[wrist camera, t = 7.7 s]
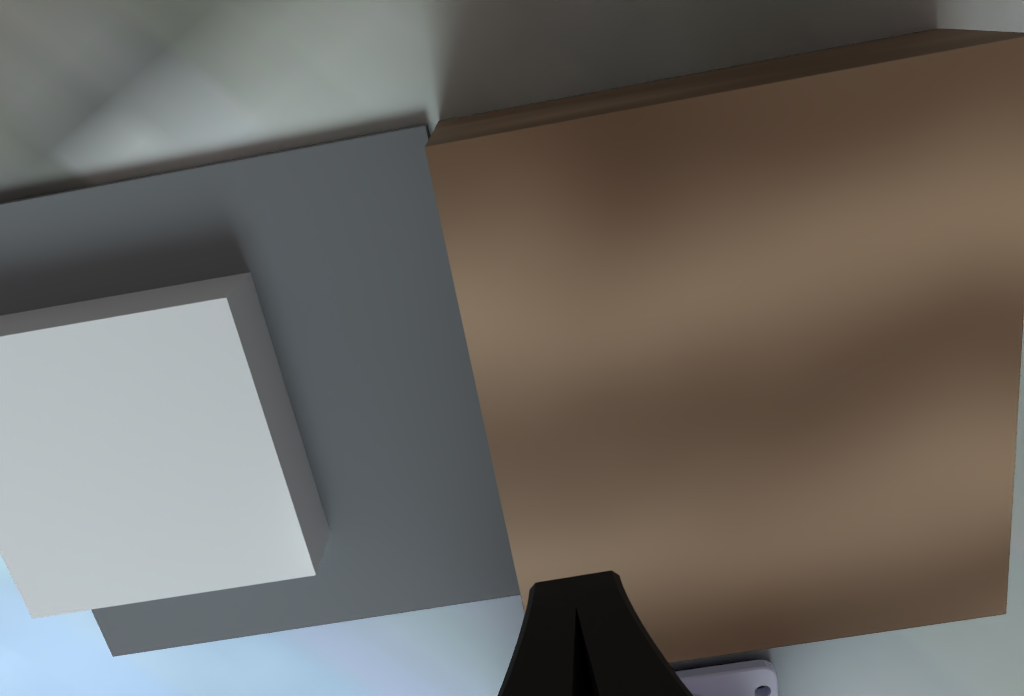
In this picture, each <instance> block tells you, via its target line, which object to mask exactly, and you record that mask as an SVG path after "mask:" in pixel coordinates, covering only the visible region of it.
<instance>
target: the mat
mask: <svg viewBox="0 0 1024 696" xmlns="http://www.w3.org/2000/svg"><path fill="white" fill-rule="evenodd" d="M429 138H430V137H429V132H428V127H427V124H422V125H417V126H411V127H406V128H401V129H395V130H390V131H384V132H379V133H374V134H368V135H363V136H357V137H352V138H347V139H341V140H336V141H331V142H325V143H320V144H314V145H309V146H304V147H298V148H293V149H288V150H282V151H277V152H271V153H266V154H261V155H255V156H250V157H245V158H239V159H234V160H228V161H223V162H218V163H212V164H207V165H201V166H196V167H191V168H185V169H180V170H175V171H169V172H164V173H158V174H153V175H148V176H142V177H137V178H132V179H126V180H121V181H115V182H110V183H105V184H99V185H94V186H88V187H83V188H78V189H72V190H67V191H62V192H56V193H51V194H45V195H40V196H35V197H29V198H24V199H19V200H13V201H8V202H2V203H0V316H2V315H7V314H13V313H19V312H25V311H30V310H36V309H42V308H48V307H53V306H59V305H65V304H71V303H76V302H82V301H88V300H94V299H99V298H105V297H111V296H116V295H122V294H128V293H134V292H139V291H145V290H151V289H157V288H162V287H168V286H174V285H180V284H185V283H191V282H197V281H203V280H208V279H214V278H220V277H226V276H231V275H237V274H243V273H249V272H251V276H252V279H253V282H254V285H255V289H256V292H257V295H258V299H259V302H260V305H261V308H262V312H263V315H264V318H265V321H266V325H267V328H268V331H269V334H270V338H271V341H272V344H273V347H274V351H275V354H276V357H277V360H278V364H279V367H280V370H281V373H282V377H283V380H284V383H285V387H286V390H287V393H288V396H289V400H290V403H291V406H292V409H293V413H294V416H295V419H296V422H297V426H298V429H299V432H300V435H301V439H302V442H303V445H304V448H305V452H306V455H307V458H308V461H309V465H310V468H311V471H312V475H313V478H314V481H315V484H316V488H317V491H318V494H319V497H320V501H321V504H322V507H323V510H324V514H325V517H326V520H327V523H328V527H329V530H330V534H329V537H328V540H327V543H326V546H325V549H324V552H323V555H322V558H321V561H320V564H319V567H318V570H317V573H316V575H314V576H308V577H301V578H295V579H288V580H281V581H275V582H268V583H262V584H255V585H249V586H242V587H236V588H229V589H222V590H216V591H209V592H203V593H196V594H190V595H183V596H177V597H170V598H163V599H157V600H150V601H144V602H137V603H131V604H124V605H118V606H111V607H104V608H98V609H91V610H92V612H93V614H94V617H95V619H96V621H97V623H98V625H99V627H100V630H101V632H102V634H103V636H104V638H105V641H106V643H107V645H108V647H109V649H110V651H111V654H112V656H113V657H114V656H120V655H127V654H133V653H140V652H146V651H153V650H160V649H166V648H173V647H179V646H186V645H193V644H199V643H206V642H212V641H219V640H225V639H232V638H239V637H245V636H252V635H258V634H265V633H272V632H278V631H285V630H291V629H298V628H304V627H311V626H318V625H324V624H331V623H337V622H344V621H351V620H357V619H364V618H370V617H377V616H383V615H390V614H397V613H403V612H410V611H416V610H423V609H430V608H436V607H443V606H449V605H456V604H462V603H469V602H476V601H482V600H489V599H495V598H502V597H509V596H515V595H521V593H520V589H519V584H518V579H517V575H516V570H515V566H514V561H513V556H512V552H511V547H510V542H509V538H508V533H507V528H506V524H505V519H504V514H503V510H502V505H501V500H500V496H499V491H498V486H497V482H496V477H495V472H494V468H493V463H492V459H491V454H490V449H489V445H488V440H487V435H486V431H485V426H484V421H483V417H482V412H481V407H480V403H479V398H478V393H477V389H476V384H475V379H474V375H473V370H472V365H471V361H470V356H469V351H468V347H467V342H466V338H465V333H464V328H463V324H462V319H461V314H460V310H459V305H458V300H457V296H456V291H455V286H454V282H453V277H452V272H451V268H450V263H449V258H448V254H447V249H446V244H445V240H444V235H443V230H442V226H441V221H440V217H439V212H438V207H437V203H436V198H435V193H434V189H433V184H432V179H431V175H430V170H429V165H428V161H427V156H426V151H425V145H426V144H427V142H428V140H429Z"/></svg>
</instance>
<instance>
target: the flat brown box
mask: <svg viewBox="0 0 1024 696" xmlns="http://www.w3.org/2000/svg"><path fill="white" fill-rule="evenodd" d="M425 151H426V156H427V161H428V165H429V170H430V175H431V179H432V184H433V189H434V193H435V198H436V203H437V207H438V212H439V217H440V221H441V226H442V230H443V235H444V240H445V244H446V249H447V254H448V258H449V263H450V268H451V272H452V277H453V282H454V286H455V291H456V296H457V300H458V305H459V310H460V314H461V319H462V324H463V328H464V333H465V338H466V342H467V347H468V351H469V356H470V361H471V365H472V370H473V375H474V379H475V384H476V389H477V393H478V398H479V403H480V407H481V412H482V417H483V421H484V426H485V431H486V435H487V440H488V445H489V449H490V454H491V459H492V463H493V468H494V472H495V477H496V482H497V486H498V491H499V496H500V500H501V505H502V510H503V514H504V519H505V524H506V528H507V533H508V538H509V542H510V547H511V552H512V556H513V561H514V566H515V570H516V575H517V579H518V584H519V589H520V593H521V598H522V603H523V607H524V612H526V607H527V603H528V597H529V590H530V588H531V587H532V586H533V585H534V584H535V583H536V582H542V581H548V580H554V579H561V578H567V577H573V576H579V575H585V574H592V573H598V572H604V571H610V570H612V571H614V572H615V573H617V574H618V575H620V579H621V582H622V584H623V587H624V589H625V592H626V594H627V596H628V598H629V600H630V602H631V604H632V606H633V608H634V610H635V612H636V613H637V615H638V617H639V618H640V620H641V622H642V624H643V625H644V627H645V629H646V630H647V632H648V633H649V635H650V637H651V638H652V640H653V641H654V643H655V644H656V646H657V647H658V648H659V650H660V651H661V653H662V654H663V656H664V657H665V659H666V660H667V662H668V663H673V662H680V661H687V660H693V659H700V658H707V657H714V656H721V655H728V654H735V653H741V652H748V651H755V650H762V649H769V648H776V647H783V646H790V645H796V644H803V643H810V642H817V641H824V640H831V639H838V638H844V637H851V636H858V635H865V634H872V633H879V632H886V631H893V630H899V629H906V628H913V627H920V626H927V625H934V624H941V623H947V622H954V621H961V620H968V619H975V618H982V617H989V616H996V615H1002V614H1006V606H1007V589H1008V572H1009V555H1010V538H1011V521H1012V504H1013V487H1014V469H1015V452H1016V435H1017V418H1018V401H1019V384H1020V367H1021V350H1022V333H1023V315H1024V33H1017V32H998V31H978V30H958V29H933V30H928V31H922V32H917V33H912V34H906V35H901V36H895V37H890V38H885V39H879V40H874V41H869V42H863V43H858V44H852V45H847V46H842V47H836V48H831V49H826V50H820V51H815V52H809V53H804V54H799V55H793V56H788V57H783V58H777V59H772V60H766V61H761V62H756V63H750V64H745V65H739V66H734V67H729V68H723V69H718V70H713V71H707V72H702V73H696V74H691V75H686V76H680V77H675V78H670V79H664V80H659V81H653V82H648V83H643V84H637V85H632V86H626V87H621V88H616V89H610V90H605V91H600V92H594V93H589V94H583V95H578V96H573V97H567V98H562V99H557V100H551V101H546V102H540V103H535V104H530V105H524V106H519V107H514V108H508V109H503V110H497V111H492V112H487V113H481V114H476V115H470V116H465V117H460V118H454V119H449V120H444V121H439V122H438V124H437V126H436V127H435V129H434V131H433V133H432V135H431V136H430V138H429V140H428V142H427V144H426V145H425Z"/></svg>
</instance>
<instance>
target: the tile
mask: <svg viewBox="0 0 1024 696" xmlns="http://www.w3.org/2000/svg"><path fill="white" fill-rule="evenodd" d="M329 534H330V530H329V527H328V523H327V520H326V517H325V514H324V510H323V507H322V504H321V501H320V497H319V494H318V491H317V488H316V484H315V481H314V478H313V475H312V471H311V468H310V465H309V461H308V458H307V455H306V452H305V448H304V445H303V442H302V439H301V435H300V432H299V429H298V426H297V422H296V419H295V416H294V413H293V409H292V406H291V403H290V400H289V396H288V393H287V390H286V387H285V383H284V380H283V377H282V373H281V370H280V367H279V364H278V360H277V357H276V354H275V351H274V347H273V344H272V341H271V338H270V334H269V331H268V328H267V325H266V321H265V318H264V315H263V312H262V308H261V305H260V302H259V299H258V295H257V292H256V289H255V285H254V282H253V279H252V276H251V272H249V273H243V274H237V275H231V276H226V277H220V278H214V279H208V280H203V281H197V282H191V283H185V284H180V285H174V286H168V287H162V288H157V289H151V290H145V291H139V292H134V293H128V294H122V295H116V296H111V297H105V298H99V299H94V300H88V301H82V302H76V303H71V304H65V305H59V306H53V307H48V308H42V309H36V310H30V311H25V312H19V313H13V314H7V315H2V316H0V554H1V556H2V558H3V560H4V562H5V564H6V566H7V568H8V570H9V572H10V574H11V576H12V578H13V580H14V582H15V584H16V586H17V588H18V590H19V592H20V594H21V596H22V598H23V600H24V602H25V604H26V607H27V609H28V611H29V613H30V615H31V617H32V618H39V617H45V616H52V615H58V614H65V613H72V612H78V611H85V610H91V609H98V608H104V607H111V606H118V605H124V604H131V603H137V602H144V601H150V600H157V599H163V598H170V597H177V596H183V595H190V594H196V593H203V592H209V591H216V590H222V589H229V588H236V587H242V586H249V585H255V584H262V583H268V582H275V581H281V580H288V579H295V578H301V577H308V576H314V575H316V573H317V570H318V567H319V564H320V561H321V558H322V555H323V552H324V549H325V546H326V543H327V540H328V537H329Z"/></svg>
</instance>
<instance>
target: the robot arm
mask: <svg viewBox="0 0 1024 696" xmlns="http://www.w3.org/2000/svg"><path fill="white" fill-rule="evenodd" d="M759 686H765V687H764V688H761V689H756V688H757V687H759ZM498 696H779V695H778V682H777V675H776V672H775V670H774V667H773V665H772V664H771V663H770V662H768V661H766V660H752V661H745V662H739V663H732V664H725V665H718V666H711V667H704V668H697V669H690V670H683V671H676V672H675V671H674V670H673V669H672V667H671V666H670V664H669V663H668V662H667V660H666V659H665V657H664V656H663V654H662V653H661V651H660V650H659V648H658V647H657V646H656V644H655V643H654V641H653V640H652V638H651V637H650V635H649V633H648V632H647V630H646V629H645V627H644V625H643V624H642V622H641V620H640V618H639V617H638V615H637V613H636V612H635V610H634V608H633V606H632V604H631V602H630V600H629V598H628V596H627V594H626V592H625V589H624V587H623V584H622V582H621V579H620V575H618V574H617V573H615V572H614V571H612V570H610V571H604V572H598V573H592V574H585V575H579V576H573V577H567V578H561V579H554V580H548V581H542V582H536V583H535V584H534V585H533V586H532V587H531V588H530V590H529V597H528V603H527V607H526V612H525V616H524V620H523V624H522V627H521V631H520V634H519V637H518V641H517V644H516V647H515V650H514V653H513V656H512V658H511V661H510V664H509V667H508V670H507V672H506V675H505V678H504V681H503V684H502V686H501V689H500V691H499V694H498Z"/></svg>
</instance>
